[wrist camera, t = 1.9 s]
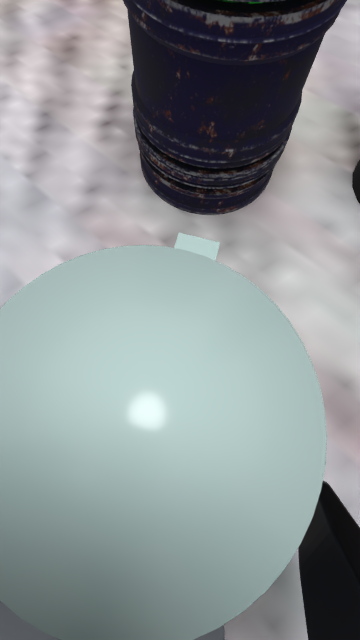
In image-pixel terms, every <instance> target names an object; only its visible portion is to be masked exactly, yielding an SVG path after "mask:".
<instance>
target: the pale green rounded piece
mask: <svg viewBox="0 0 360 640" xmlns="http://www.w3.org/2000/svg"><path fill="white" fill-rule="evenodd" d="M219 245H220V242H216V241H212V240H208V239H204V238H200V237H195V236H191V235H187V234H183V233H179V234H178V237H177V241H176V244H175V247H174V248H171V247H165V246H151V245H135V246H121V247H115V248H108V249H102V250H99V251H95V252H92V253H88V254H85V255H81V256H79V257H76V258H74V259H72V260H69V261H67V262H64V263H62V264H60V265H58V266H56V267H54V268H53V269H51V270H49V271H47V272H45V273H44V274H42V275H40V276H39V277H37V278H36V279H35V280H33V281H32V282H30V283H29V284H28V285H26V286H25V287H23V288H22V289H21V290H20V291H19V292H18V293H17V294H15V295H14V296H13V297H12V298H11V299H10V300H9V301H8V302H6V303H5V304H4V306H3V307H2V308H1V309H0V601H1V602H2V603H4V604H5V605H6V606H7V607H8V608H9V609H10V610H12V611H13V612H14V613H15V614H16V615H17V616H18V617H20V618H21V619H23V620H25V621H26V622H28V623H29V624H31V625H33V626H34V627H36V628H37V629H39V630H41V631H42V632H44V633H46V634H48V635H51V636H53V637H56V638H58V639H61V640H194V639H196V638H198V637H200V636H202V635H204V634H207V633H209V632H211V631H213V630H215V629H217V628H219V627H221V626H222V625H224V624H225V623H227V622H228V621H230V620H231V619H233V618H234V617H236V616H237V615H239V614H240V613H242V612H243V611H245V610H246V609H247V608H248V607H249V606H250V605H251V604H252V603H253V602H255V601H256V600H257V599H258V598H259V597H260V596H261V595H262V594H264V593H265V592H266V591H267V590H268V588H269V587H270V586H271V585H272V584H273V582H274V581H275V580H276V579H277V578H278V576H279V575H280V574H281V573H282V572H283V570H284V569H285V568H286V566H287V565H288V563H289V562H290V560H291V558H292V557H293V555H294V554H295V552H296V550H297V549H298V547H299V546H300V544H301V542H302V540H303V538H304V535H305V533H306V531H307V529H308V527H309V524H310V522H311V520H312V518H313V515H314V512H315V508H316V505H317V502H318V498H319V495H320V492H321V487H322V482H323V476H324V470H325V464H326V445H327V431H326V419H325V409H324V404H323V399H322V394H321V389H320V385H319V382H318V379H317V376H316V373H315V370H314V367H313V364H312V361H311V359H310V357H309V355H308V353H307V351H306V348H305V346H304V344H303V342H302V340H301V339H300V337H299V335H298V334H297V332H296V331H295V329H294V327H293V326H292V324H291V323H290V321H289V320H288V319H287V317H286V316H285V315H284V314H283V313H282V311H281V310H280V309H279V308H278V306H277V305H276V304H275V303H274V302H273V301H272V300H271V299H270V298H269V297H268V296H267V295H266V294H265V293H264V292H263V291H262V290H261V289H260V288H258V287H257V286H256V285H254V284H253V283H252V282H250V281H249V280H248V279H247V278H245V277H244V276H243V275H241V274H239V273H237V272H236V271H234V270H232V269H231V268H229V267H227V266H226V265H224V264H222V263H219V262H217V261H215V260H216V256H217V253H218V249H219Z"/></svg>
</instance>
